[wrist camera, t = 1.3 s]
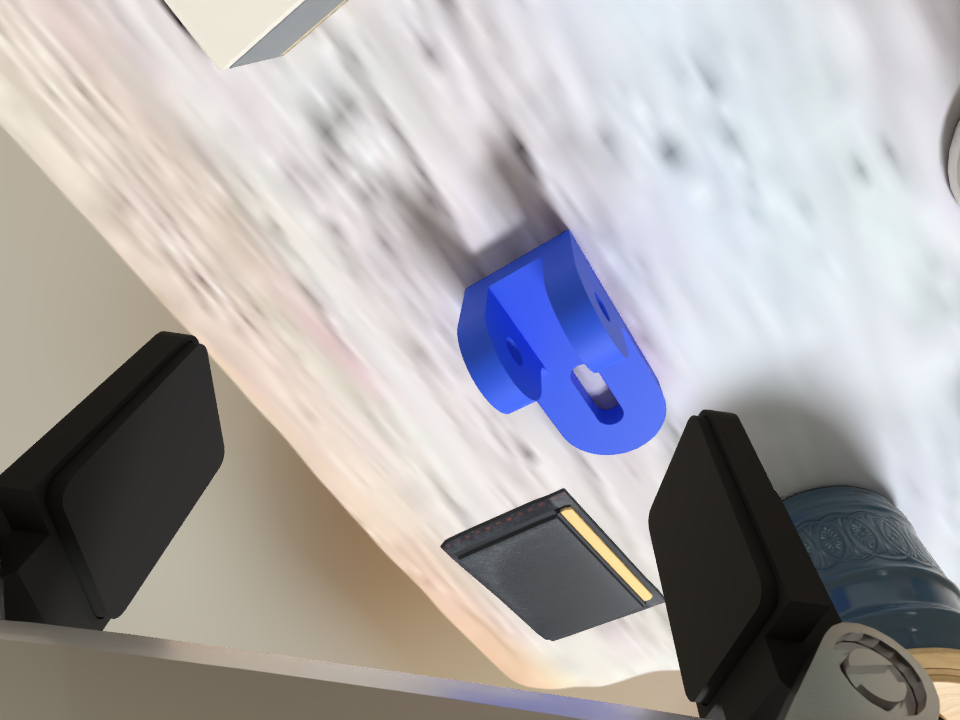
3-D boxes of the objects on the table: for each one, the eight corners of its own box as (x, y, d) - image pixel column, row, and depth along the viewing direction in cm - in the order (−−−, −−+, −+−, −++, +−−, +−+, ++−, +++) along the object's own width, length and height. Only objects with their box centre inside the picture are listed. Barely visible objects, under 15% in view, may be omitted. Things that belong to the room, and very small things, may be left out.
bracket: (465, 288, 40) (451, 355, 32) (568, 228, 37) (579, 287, 29) (584, 451, 48) (595, 536, 40) (677, 412, 45) (708, 496, 37)
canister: (902, 467, 46) (1080, 690, 31) (899, 564, 52) (1047, 788, 37) (737, 499, 49) (827, 715, 34) (753, 587, 55) (836, 801, 41)
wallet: (434, 553, 54) (571, 495, 48) (436, 537, 56) (569, 479, 50) (544, 654, 62) (672, 614, 57) (543, 637, 64) (668, 597, 58)
